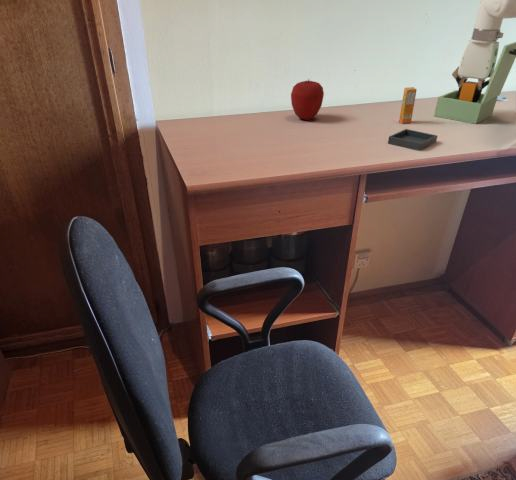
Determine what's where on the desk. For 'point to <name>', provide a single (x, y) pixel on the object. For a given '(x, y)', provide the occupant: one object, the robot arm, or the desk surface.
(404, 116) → the supplement box
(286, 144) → the desk surface
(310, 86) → the apple
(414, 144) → the tray
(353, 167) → the desk surface
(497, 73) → the lunchbox lid
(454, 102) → the box
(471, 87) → the orange block
